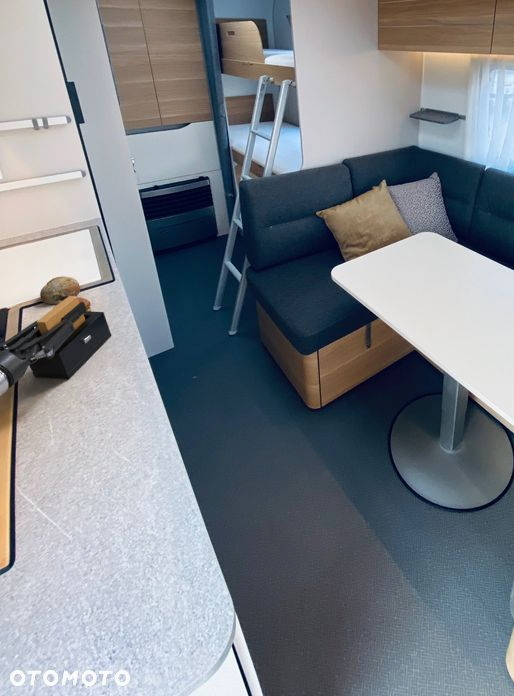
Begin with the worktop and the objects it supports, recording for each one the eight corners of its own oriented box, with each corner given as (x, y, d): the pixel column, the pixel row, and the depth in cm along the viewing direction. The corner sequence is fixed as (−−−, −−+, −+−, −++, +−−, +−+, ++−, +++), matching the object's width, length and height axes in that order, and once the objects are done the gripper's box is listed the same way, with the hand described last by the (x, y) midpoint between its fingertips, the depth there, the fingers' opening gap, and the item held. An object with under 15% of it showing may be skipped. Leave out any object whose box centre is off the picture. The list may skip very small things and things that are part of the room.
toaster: (34, 377, 98) (23, 351, 95) (80, 334, 112) (71, 310, 109) (71, 379, 98) (61, 353, 95) (113, 335, 112) (105, 311, 108)
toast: (49, 353, 98) (35, 321, 95) (80, 325, 108) (69, 295, 104) (57, 354, 98) (44, 322, 95) (87, 326, 108) (77, 296, 104)
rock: (48, 316, 125) (43, 301, 120) (37, 292, 129) (31, 277, 124) (85, 301, 132) (82, 286, 127) (74, 279, 136) (70, 264, 131)
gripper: (-34, 389, 86) (55, 316, 108) (33, 393, 85) (110, 318, 107) (-48, 362, 83) (46, 293, 105) (21, 365, 82) (102, 294, 104)
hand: (78, 306), depth 106 cm, fingers closed on toast, 2 cm apart
